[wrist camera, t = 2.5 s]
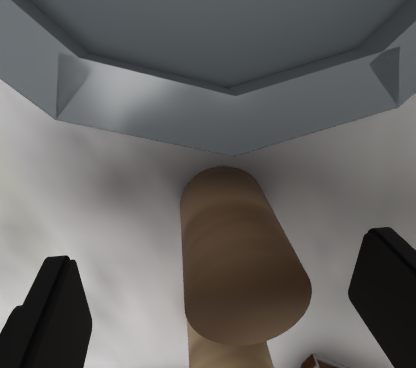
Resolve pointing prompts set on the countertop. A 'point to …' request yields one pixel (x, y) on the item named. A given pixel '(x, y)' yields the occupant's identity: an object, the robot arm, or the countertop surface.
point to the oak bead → (225, 353)
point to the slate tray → (210, 65)
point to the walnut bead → (237, 261)
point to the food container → (320, 363)
